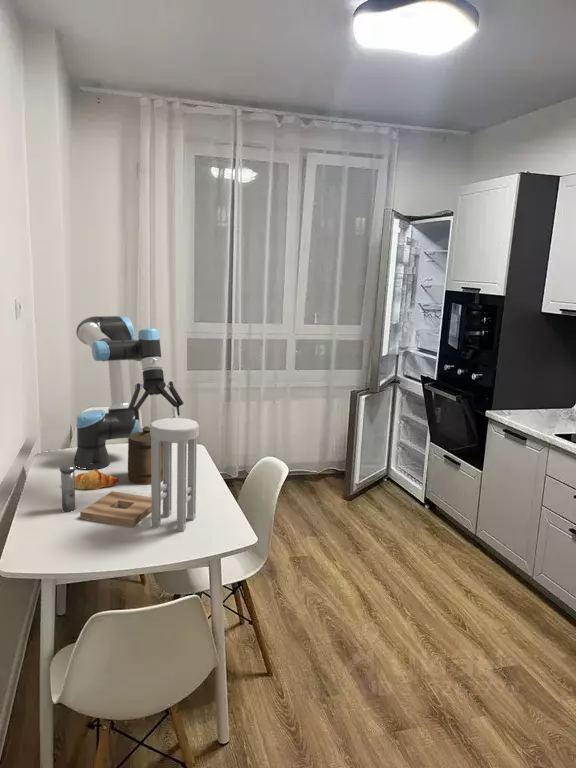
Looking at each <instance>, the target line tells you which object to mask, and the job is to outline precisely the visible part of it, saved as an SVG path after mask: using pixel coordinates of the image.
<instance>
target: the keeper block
mask: <svg viewBox="0 0 576 768" xmlns="http://www.w3.org/2000/svg"><path fill="white" fill-rule="evenodd" d="M79 513H80V514H79V515H80V518H81V519H80V520H86V519H88V520H87V521H92V520H94V522H100V523H106V524H113V525H118V526H123V527H131V528H134V527H135V526H136V525H138V524H139V523H140V522H141V521H143V520H144V519H146V517H148V516H149V515H150V514H151V496H147V495H140V494H132V493H127V492H121V491H110V492H108V493H107V494H105V495H104V496H102V497H100V499H97V500H96V501H94V502H93V503H92V504H90V505H88V506H86V507H85V508H84V509H82V510H80V511H79Z"/></svg>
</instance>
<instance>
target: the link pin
mask: <svg viewBox="0 0 576 768" xmlns="http://www.w3.org/2000/svg"><path fill="white" fill-rule="evenodd" d="M76 469H77V468H76V466H75V465H73V464H71V463H68V464H66V463H65V464H62V465H60V466H59V472H60V482H61V483H60V484H61V488H60V489H61V508H62V509H61V510H63V511H64V512H63V511H62V512H63V513H72V512H71V511H73V512H75V511H76V488H75V476H76V475H75V474H76V473H75V471H76ZM74 510H75V511H74Z"/></svg>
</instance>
